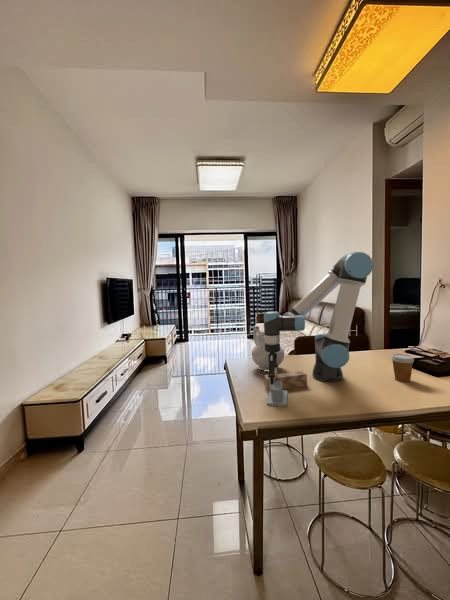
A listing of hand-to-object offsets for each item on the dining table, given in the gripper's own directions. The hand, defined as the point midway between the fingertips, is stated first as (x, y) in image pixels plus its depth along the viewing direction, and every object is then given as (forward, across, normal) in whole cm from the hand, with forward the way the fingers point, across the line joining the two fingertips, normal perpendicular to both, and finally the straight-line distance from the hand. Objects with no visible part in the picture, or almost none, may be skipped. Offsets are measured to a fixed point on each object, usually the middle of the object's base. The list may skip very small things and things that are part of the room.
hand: (273, 384), depth 133 cm
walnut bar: (0, 0, +6) cm, 6 cm away
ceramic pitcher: (0, -26, -6) cm, 27 cm away
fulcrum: (0, +15, +3) cm, 15 cm away
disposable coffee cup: (0, -16, +62) cm, 64 cm away
